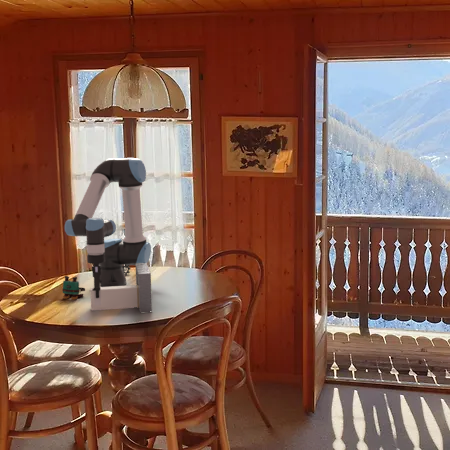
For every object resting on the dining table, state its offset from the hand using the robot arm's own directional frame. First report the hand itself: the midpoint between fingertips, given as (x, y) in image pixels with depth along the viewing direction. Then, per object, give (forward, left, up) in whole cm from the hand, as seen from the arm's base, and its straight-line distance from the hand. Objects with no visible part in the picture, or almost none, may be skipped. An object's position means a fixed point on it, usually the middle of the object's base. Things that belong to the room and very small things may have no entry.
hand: (97, 301), depth 274 cm
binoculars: (-11, -24, -4) cm, 26 cm away
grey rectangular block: (-6, +6, -3) cm, 9 cm away
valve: (-62, -37, -4) cm, 73 cm away
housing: (-13, +15, -3) cm, 20 cm away
